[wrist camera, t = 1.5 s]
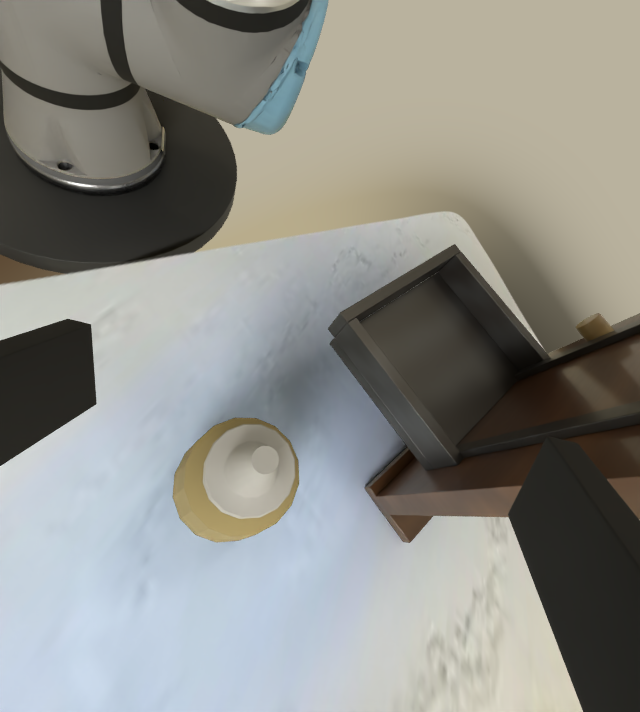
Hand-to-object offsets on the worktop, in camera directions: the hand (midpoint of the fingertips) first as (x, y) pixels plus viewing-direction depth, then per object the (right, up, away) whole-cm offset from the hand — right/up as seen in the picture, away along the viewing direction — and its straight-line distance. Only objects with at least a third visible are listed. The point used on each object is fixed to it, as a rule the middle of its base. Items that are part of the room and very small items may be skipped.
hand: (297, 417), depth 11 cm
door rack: (+11, -2, +30) cm, 32 cm away
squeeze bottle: (-7, -9, +21) cm, 24 cm away
